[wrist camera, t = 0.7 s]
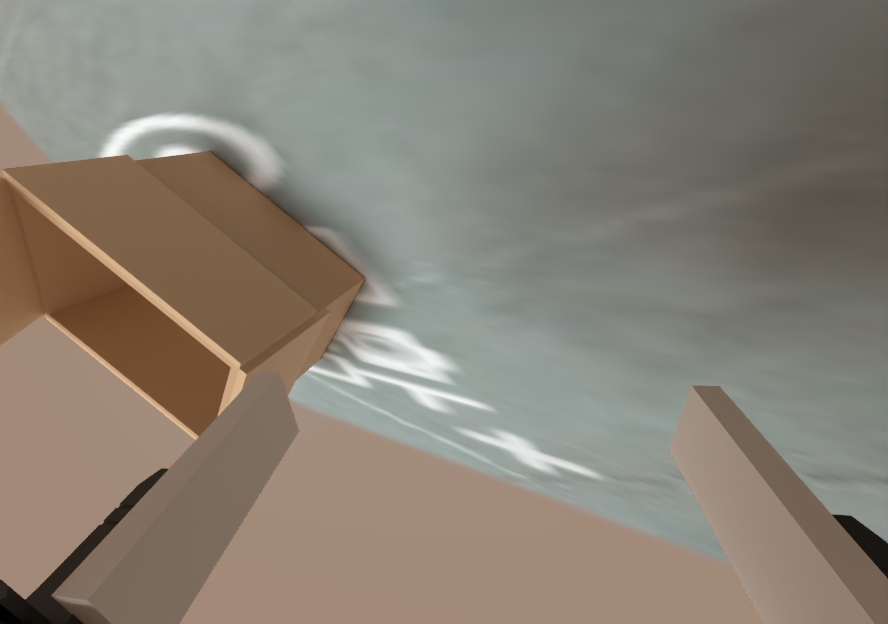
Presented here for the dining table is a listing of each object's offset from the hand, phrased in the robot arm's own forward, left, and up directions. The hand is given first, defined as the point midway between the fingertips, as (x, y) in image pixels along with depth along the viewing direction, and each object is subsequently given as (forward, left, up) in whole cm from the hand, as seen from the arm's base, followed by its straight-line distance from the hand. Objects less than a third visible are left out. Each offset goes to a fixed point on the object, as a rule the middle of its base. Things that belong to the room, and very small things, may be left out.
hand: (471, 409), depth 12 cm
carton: (+2, -23, -13) cm, 27 cm away
